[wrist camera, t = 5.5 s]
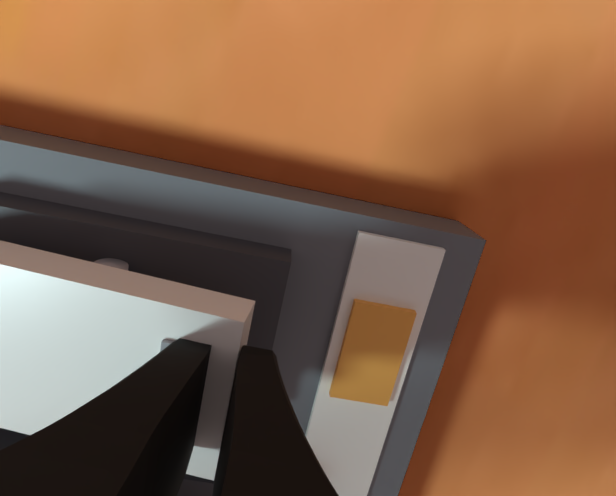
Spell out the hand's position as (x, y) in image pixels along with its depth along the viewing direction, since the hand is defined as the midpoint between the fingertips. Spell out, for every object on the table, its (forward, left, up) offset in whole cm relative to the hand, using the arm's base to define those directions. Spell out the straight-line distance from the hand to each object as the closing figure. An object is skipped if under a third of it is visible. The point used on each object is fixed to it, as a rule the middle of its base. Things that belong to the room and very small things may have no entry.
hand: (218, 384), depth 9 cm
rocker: (-3, 0, -1) cm, 3 cm away
